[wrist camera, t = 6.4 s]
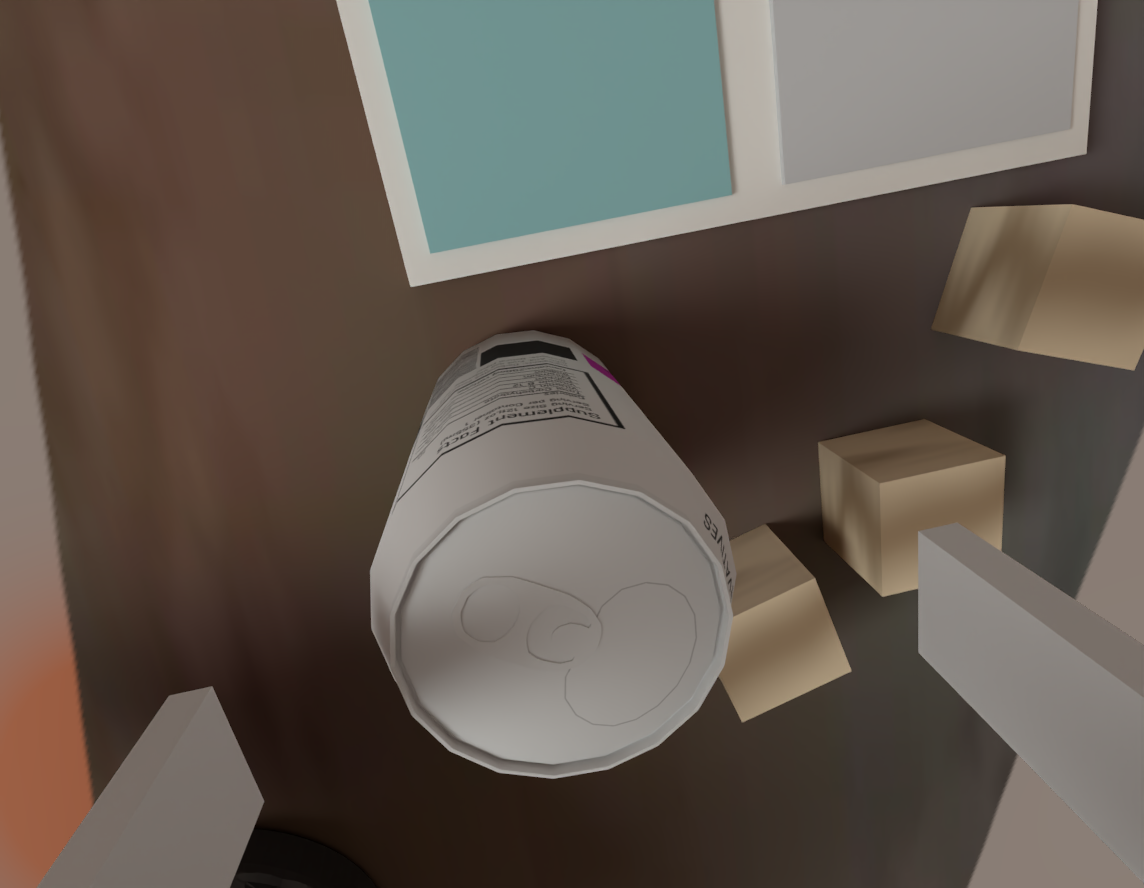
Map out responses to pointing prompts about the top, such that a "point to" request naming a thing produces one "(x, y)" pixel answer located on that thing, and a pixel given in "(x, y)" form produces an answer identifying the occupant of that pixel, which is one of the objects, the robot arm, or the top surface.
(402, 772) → the top surface
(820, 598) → the maple block
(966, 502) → the maple block
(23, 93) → the top surface
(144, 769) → the robot arm
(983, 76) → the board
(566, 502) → the supplement can
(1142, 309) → the maple block
